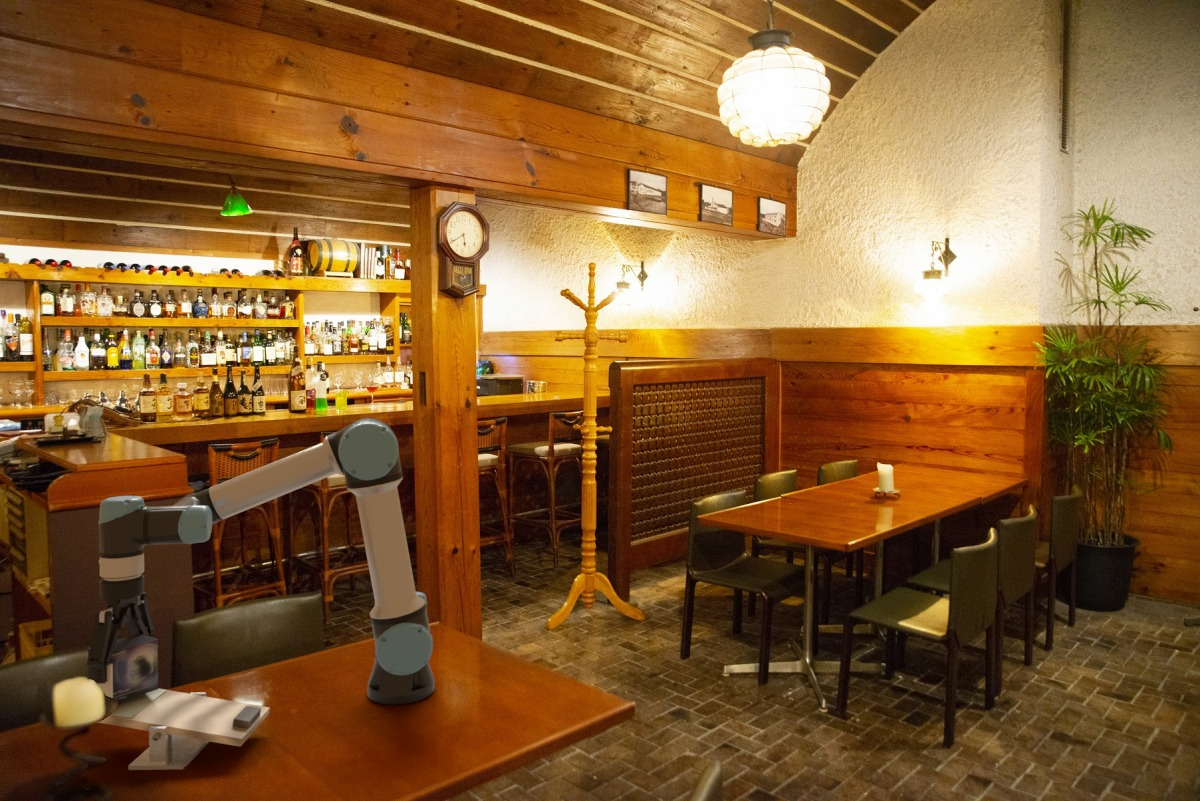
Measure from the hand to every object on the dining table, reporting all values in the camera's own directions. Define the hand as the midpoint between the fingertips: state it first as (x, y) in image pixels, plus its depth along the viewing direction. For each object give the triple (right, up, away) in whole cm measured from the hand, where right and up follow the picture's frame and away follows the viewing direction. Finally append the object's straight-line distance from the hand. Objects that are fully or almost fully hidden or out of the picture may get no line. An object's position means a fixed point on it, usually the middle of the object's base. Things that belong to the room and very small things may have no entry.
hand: (122, 685), depth 156 cm
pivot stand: (+11, -12, +1) cm, 16 cm away
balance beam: (+11, -6, +1) cm, 13 cm away
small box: (0, -2, 0) cm, 2 cm away
